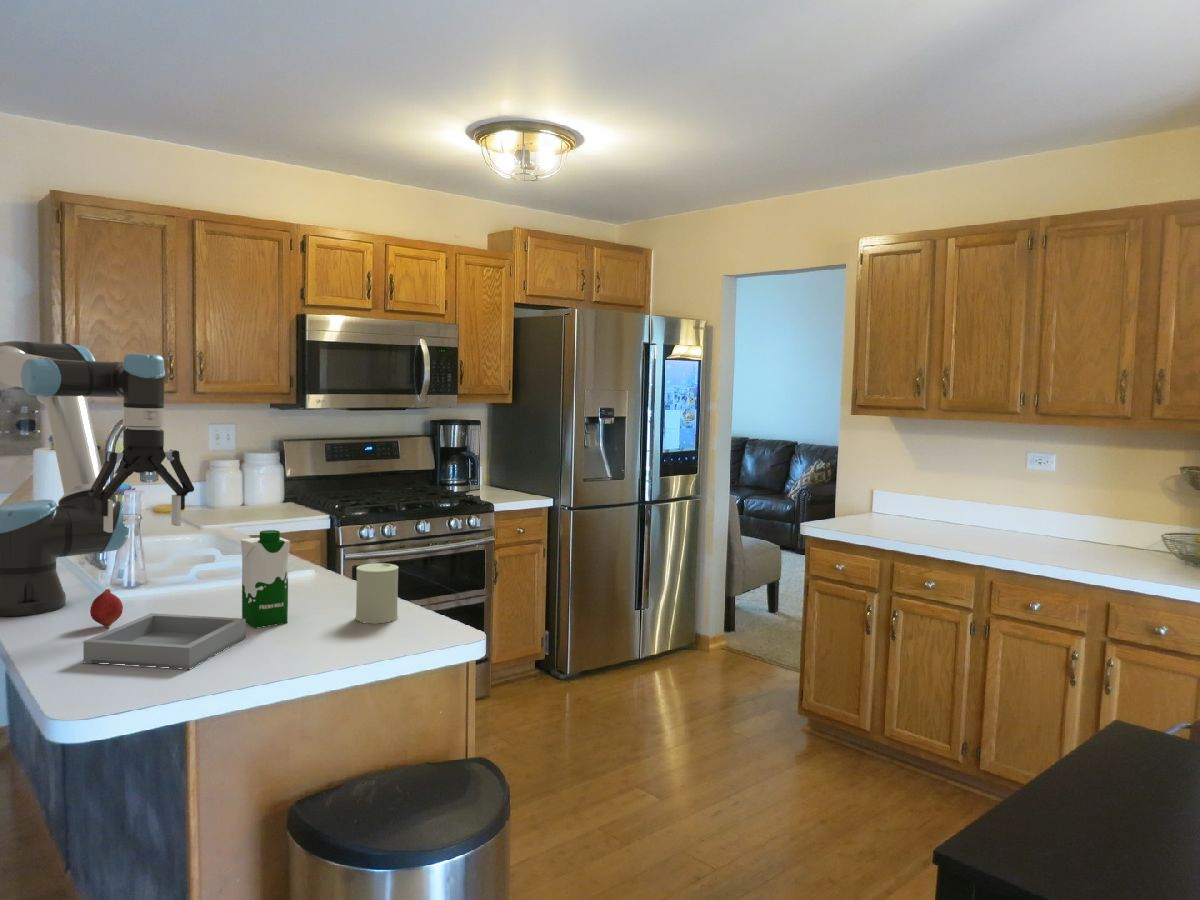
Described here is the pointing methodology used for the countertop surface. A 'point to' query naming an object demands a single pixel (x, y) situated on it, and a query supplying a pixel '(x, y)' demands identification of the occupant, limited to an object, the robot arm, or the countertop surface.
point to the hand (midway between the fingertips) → (143, 528)
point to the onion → (106, 608)
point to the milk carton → (265, 579)
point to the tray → (165, 641)
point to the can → (377, 593)
